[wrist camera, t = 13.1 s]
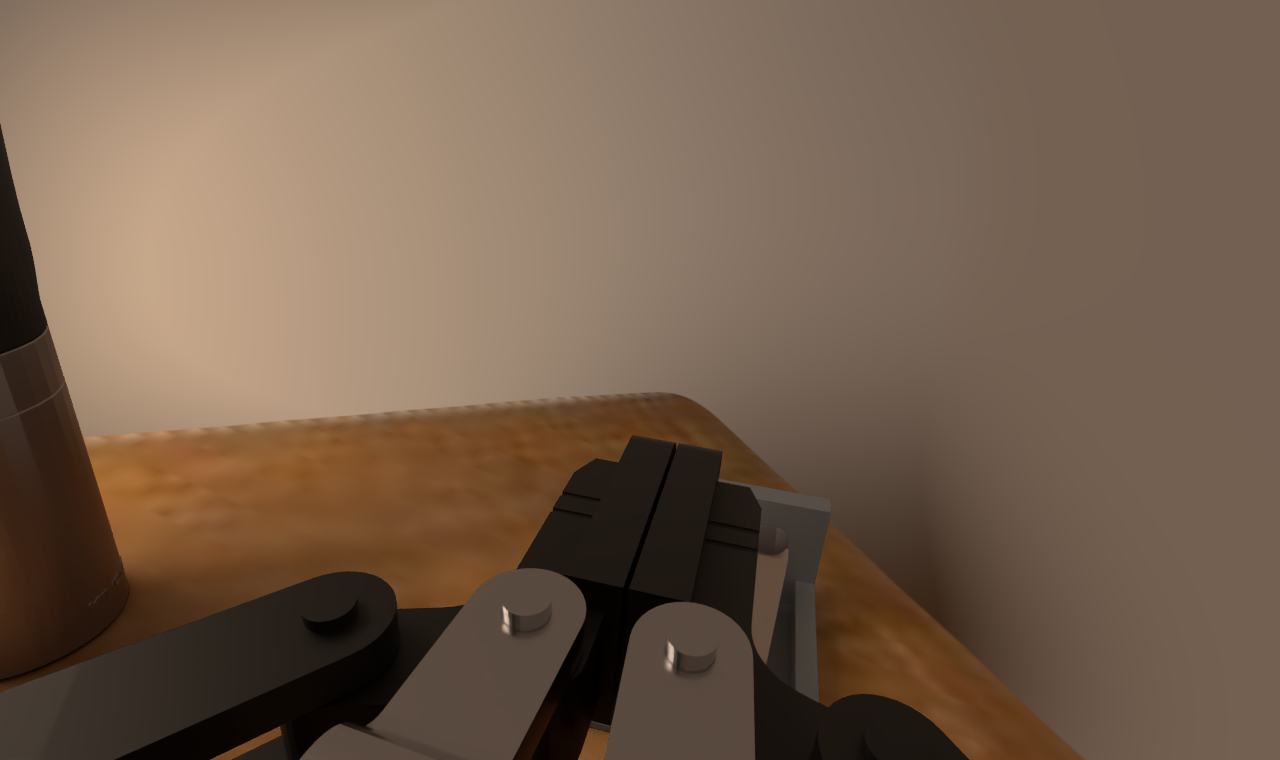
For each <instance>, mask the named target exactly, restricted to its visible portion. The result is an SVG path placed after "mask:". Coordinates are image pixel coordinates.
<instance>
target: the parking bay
mask: <svg viewBox="0 0 1280 760" xmlns="http://www.w3.org/2000/svg"><path fill="white" fill-rule="evenodd" d="M718 481H719V482H724V483H730V484H735V485H740V486H745V487H750V488H751V490H752V492H753V494H754V496H755V497H756V499H757V501H758V503H759V505H760V507H761V508H762V510H761V522H760V524H763V525H768V526H774V527H778V528H780V529H782V530H783V531H784V532H785V533H786V534H787V537H788V546H787V548H786V549H788V563H787V568H786V573H785V577H784V582H783V587H782V592H781V597H780V601H779V606H778V611H777V616H776V620H775V625H774V630H773V635H772V639H771V644H770V649H769V654H768V659H767V663H766V666H767V667H768V668H769V669H770V670H771V671H772V672H773V673H774V674H775V675H776V676H777V677H778V678H779V679H780V680H782V681H783V682H784V683H785V684H787V685H788V686H790V687H791V688H793V689H795V690H796V691H798V692H800V693H802V694H803V695H805V696H807V697H809V698H811V699H813V700H815V701H817V702H818V703H819V687H818V662H817V638H816V613H815V588H814V584H815V580H816V575H817V571H818V567H819V563H820V558H821V554H822V550H823V545H824V541H825V537H826V533H827V528H828V524H829V520H830V516H831V506H830V499H826V498H820V497H815V496H810V495H804V494H799V493H793V492H788V491H782V490H777V489H771V488H766V487H760V486H755V485H749V484H744V483H738V482H733V481H727V480H722V479H719V480H718ZM612 721H613V720H612ZM611 725H612V723H611ZM589 727H592V728H596V729H600V730H603V731H607V732H610V730H611V726H609V725H605V724H601V723H597V722H594V721H591V723H590V726H589Z"/></svg>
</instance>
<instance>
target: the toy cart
mask: <svg viewBox="0 0 1280 760" xmlns="http://www.w3.org/2000/svg"><path fill="white" fill-rule="evenodd" d="M787 546H788V537H787V534H786V533H785V532H784V531H783V530H782V529H780V528H778V527H774V526H768V525H763V524H760V532H759V545H758V553H757V554H758V557H757V568H756V580H755V591H754V603H753V615H752V638H753V643H754V645H755V648H756V650H757V652H758V654H759V656H760V657H761V659H762V661H763V662H764V663H765V664H766V663H767V659H768V654H769V649H770V644H771V639H772V635H773V630H774V625H775V620H776V616H777V611H778V606H779V601H780V597H781V592H782V587H783V582H784V577H785V573H786V568H787V563H788V549H786V548H787Z"/></svg>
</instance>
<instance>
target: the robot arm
mask: <svg viewBox="0 0 1280 760" xmlns="http://www.w3.org/2000/svg"><path fill="white" fill-rule="evenodd" d="M722 452H723V451H719V450H713V449H708V448H702V447H696V446H691V445H685V444H680V443H679V445H678V447H677V450H676V443H674V442H668V441H663V440H657V439H652V438H646V437H640V436H635V435H633V436H632V437H631V439H630V441H629V443H628V445H627V447H626V449H625V451H624V453H623V455H622V457H621V459H620V461H619V463H618V462H613V461H607V460H602V459H597V458H596V459H594V460H593V461H591V462H590V463H588V464H587V465H585V466H583V467H582V468H580V469H579V470H577V471H576V472H574V474H573V475H572V477H571V479H570V480H569V482H568V484H567V485H566V487H565V489H564V490H563V494H562V496H561V495H560V497H559V499H558V501H557V502H556V504H555V506H554V507H553V512H550V514H549V516H548V517H547V519H546V521H545V522H544V524H543V526H542V527H541V529H540V531H539V532H538V534H537V536H536V537H535V539H534V541H533V542H532V544H531V546H530V547H529V549H528V551H527V553H526V554H525V556H524V558H523V559H522V561H521V563H520V564H519V566H518V568H517V569H516V570H512V571H508V572H504V573H502V574H499V575H497V576H495V577H493V578H491V579H489V580H488V581H486V582H485V583H484V584H482V585H481V586H480V587H479V588H478V589H477V590H476V591H475V592H474V593H473V595H472V596H471V597H470V599H469V600H468V601H467V602H466V604H465V605H460V606H455V607H444V608H415V609H397V602H396V596H395V593H394V591H393V589H392V588H391V587H390V585H389V584H388V583H387V582H385V581H384V580H382V579H381V578H379V577H377V576H374V575H371V574H367V573H362V572H337V573H331V574H326V575H322V576H319V577H316V578H312V579H310V580H307V581H304V582H301V583H299V584H296V585H293V586H290V587H288V588H285V589H282V590H279V591H277V592H274V593H271V594H268V595H266V596H263V597H260V598H257V599H255V600H252V601H249V602H246V603H244V604H241V605H238V606H235V607H233V608H230V609H227V610H224V611H222V612H219V613H216V614H213V615H211V616H208V617H205V618H202V619H200V620H197V621H194V622H191V623H189V624H186V625H183V626H180V627H178V628H175V629H172V630H169V631H167V632H164V633H161V634H158V635H156V636H153V637H150V638H147V639H145V640H142V641H139V642H136V643H134V644H131V645H128V646H125V647H123V648H120V649H117V650H114V651H112V652H109V653H106V654H103V655H101V656H98V657H95V658H92V659H90V660H87V661H84V662H81V663H79V664H76V665H73V666H70V667H68V668H65V669H62V670H59V671H57V672H54V673H51V674H48V675H46V676H43V677H40V678H37V679H35V680H32V681H29V682H27V683H24V684H21V685H18V686H16V687H13V688H10V689H7V690H5V691H2V692H0V760H210V759H212V758H214V757H216V756H218V755H220V754H223V753H225V752H227V751H229V750H231V749H233V748H235V747H237V746H239V745H241V744H243V743H246V742H248V741H250V740H252V739H254V738H256V737H258V736H260V735H262V734H264V733H267V732H269V731H271V730H273V729H275V728H277V727H279V726H280V729H281V734H282V736H279V737H277V738H275V739H273V740H271V741H269V742H267V743H265V744H263V745H261V746H259V747H257V748H255V749H253V750H251V751H249V752H247V753H245V754H242V755H240V756H238V757H236V758H234V759H232V760H578V758H579V755H580V753H581V751H582V748H583V745H584V742H585V738H586V735H587V732H588V729H589V726H590V723H591V721H594V722H597V723H601V724H605V725H609V726H611V730H610V735H609V740H608V745H607V749H606V754H605V759H604V760H969V759H968V758H967V757H966V756H965V755H964V754H963V753H962V752H961V751H960V750H959V748H958V747H957V746H956V745H955V744H954V743H953V742H952V741H951V740H950V739H949V738H948V737H947V736H946V735H945V734H944V733H943V732H942V731H941V730H940V729H939V728H938V727H937V726H936V725H935V724H934V723H933V722H932V721H930V720H929V719H928V718H926V717H925V716H924V715H922V714H921V713H919V712H918V711H916V710H914V709H913V708H911V707H909V706H907V705H905V704H903V703H901V702H899V701H896V700H893V699H890V698H887V697H883V696H878V695H871V694H858V695H851V696H847V697H844V698H841V699H840V700H838V701H836V702H834V703H833V704H832V705H831V706H830V707H829V708H828V707H826V706H824V705H822V704H820V703H818V702H817V701H815V700H813V699H811V698H809V697H807V696H805V695H803V694H802V693H800V692H798V691H796V690H795V689H793V688H791V687H790V686H788V685H787V684H785V683H784V682H783V681H782V680H780V679H779V678H778V677H777V676H776V675H775V674H774V673H773V672H772V671H771V670H770V669H769V668H768V667H767V666H766V664H765V663H764V662H763V661H762V659H761V657H760V656H759V654H758V652H757V650H756V648H755V645H754V643H753V638H752V615H753V603H754V591H755V580H756V568H757V557H758V554H757V553H758V545H759V532H760V522H761V510H762V508H761V507H760V505H759V503H758V501H757V499H756V497H755V496H754V494H753V492H752V490H751V488H750V487H745V486H740V485H735V484H730V483H724V482H719V481H718V480H719V473H720V467H721V460H722ZM128 595H129V590H128V582H127V579H126V576H125V573H124V568H123V563H122V559H121V556H119V553H118V550H117V547H116V543H115V540H114V537H113V533H112V530H111V526H110V523H109V520H108V517H107V513H106V510H105V507H104V504H103V501H102V497H101V494H100V491H99V488H98V485H97V481H96V478H95V475H94V472H93V468H92V465H91V462H90V459H89V456H88V452H87V449H86V446H85V443H84V439H83V436H82V433H81V430H80V427H79V423H78V420H77V417H76V414H75V411H74V408H73V404H72V401H71V398H70V394H69V391H68V388H67V385H66V382H65V378H64V376H63V372H62V369H61V366H60V363H59V359H58V356H57V353H56V350H55V347H54V343H53V340H52V337H51V334H50V331H49V327H48V324H47V320H46V317H45V314H44V311H43V307H42V304H41V301H40V296H39V291H38V284H37V278H36V272H35V266H34V260H33V256H32V251H31V247H30V242H29V239H28V236H27V232H26V229H25V225H24V222H23V218H22V214H21V211H20V207H19V203H18V199H17V195H16V191H15V187H14V183H13V179H12V175H11V170H10V166H9V161H8V157H7V152H6V148H5V143H4V139H3V134H2V129H1V125H0V679H4V678H8V677H12V676H16V675H19V674H22V673H25V672H27V671H30V670H33V669H36V668H38V667H41V666H44V665H46V664H48V663H50V662H52V661H54V660H56V659H58V658H61V657H63V656H65V655H67V654H68V653H70V652H72V651H73V650H75V649H77V648H78V647H80V646H82V645H83V644H85V643H87V642H88V641H89V640H91V639H92V638H93V637H95V636H96V635H97V634H99V633H100V632H101V631H103V630H104V629H105V628H106V627H107V626H108V625H109V624H110V623H111V622H112V621H113V620H114V619H115V618H116V617H117V615H118V614H119V613H120V611H121V610H122V608H123V607H124V606H125V603H126V600H127V598H128ZM612 720H613V721H612ZM611 723H612V725H611Z"/></svg>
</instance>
